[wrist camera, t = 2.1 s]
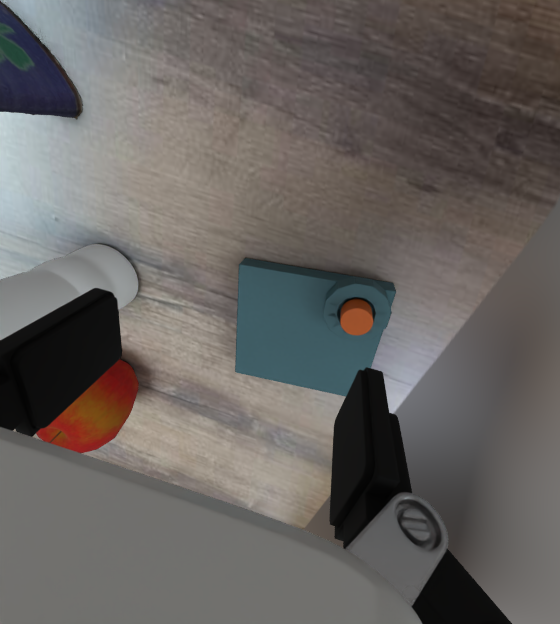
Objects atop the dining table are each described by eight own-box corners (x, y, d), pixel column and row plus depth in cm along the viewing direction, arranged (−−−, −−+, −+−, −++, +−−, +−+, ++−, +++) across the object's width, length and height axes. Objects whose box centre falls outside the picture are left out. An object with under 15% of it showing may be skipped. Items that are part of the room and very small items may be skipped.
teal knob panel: (396, 275, 26) (402, 291, 23) (359, 387, 33) (360, 411, 30) (245, 249, 28) (233, 262, 25) (240, 361, 35) (230, 382, 32)
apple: (164, 396, 41) (102, 481, 30) (109, 393, 43) (34, 471, 33) (141, 340, 36) (60, 416, 26) (81, 339, 39) (-16, 410, 28)
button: (375, 301, 25) (377, 311, 23) (367, 327, 26) (368, 338, 24) (344, 296, 25) (343, 305, 23) (337, 321, 26) (337, 332, 25)
